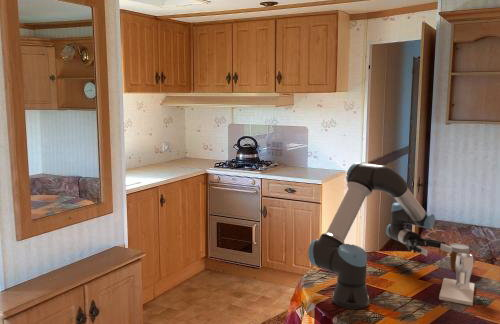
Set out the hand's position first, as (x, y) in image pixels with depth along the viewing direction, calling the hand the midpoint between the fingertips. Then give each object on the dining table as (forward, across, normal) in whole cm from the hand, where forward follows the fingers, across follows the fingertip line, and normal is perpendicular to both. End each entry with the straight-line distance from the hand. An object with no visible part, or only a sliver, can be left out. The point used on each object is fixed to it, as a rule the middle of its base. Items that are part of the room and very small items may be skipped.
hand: (439, 251), depth 217 cm
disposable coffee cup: (-11, -22, -15) cm, 29 cm away
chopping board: (+11, -2, -15) cm, 19 cm away
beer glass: (+10, -5, -14) cm, 18 cm away
